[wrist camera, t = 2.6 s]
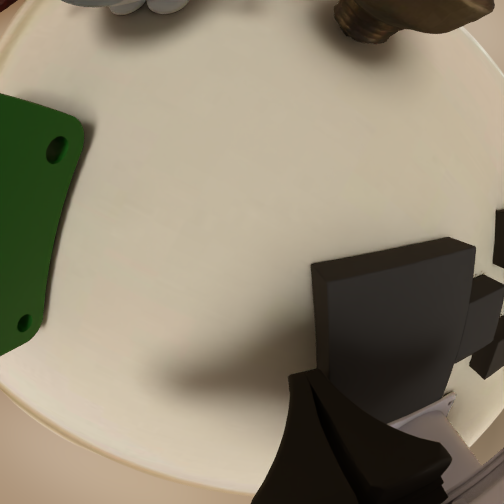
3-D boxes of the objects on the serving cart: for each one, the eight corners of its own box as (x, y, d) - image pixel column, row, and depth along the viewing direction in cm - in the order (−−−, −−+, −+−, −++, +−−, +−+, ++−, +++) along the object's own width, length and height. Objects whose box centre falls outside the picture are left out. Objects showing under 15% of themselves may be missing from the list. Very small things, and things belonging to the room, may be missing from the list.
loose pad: (464, 360, 14) (480, 375, 12) (317, 417, 14) (326, 444, 12) (488, 227, 12) (513, 235, 9) (310, 263, 11) (326, 282, 9)
